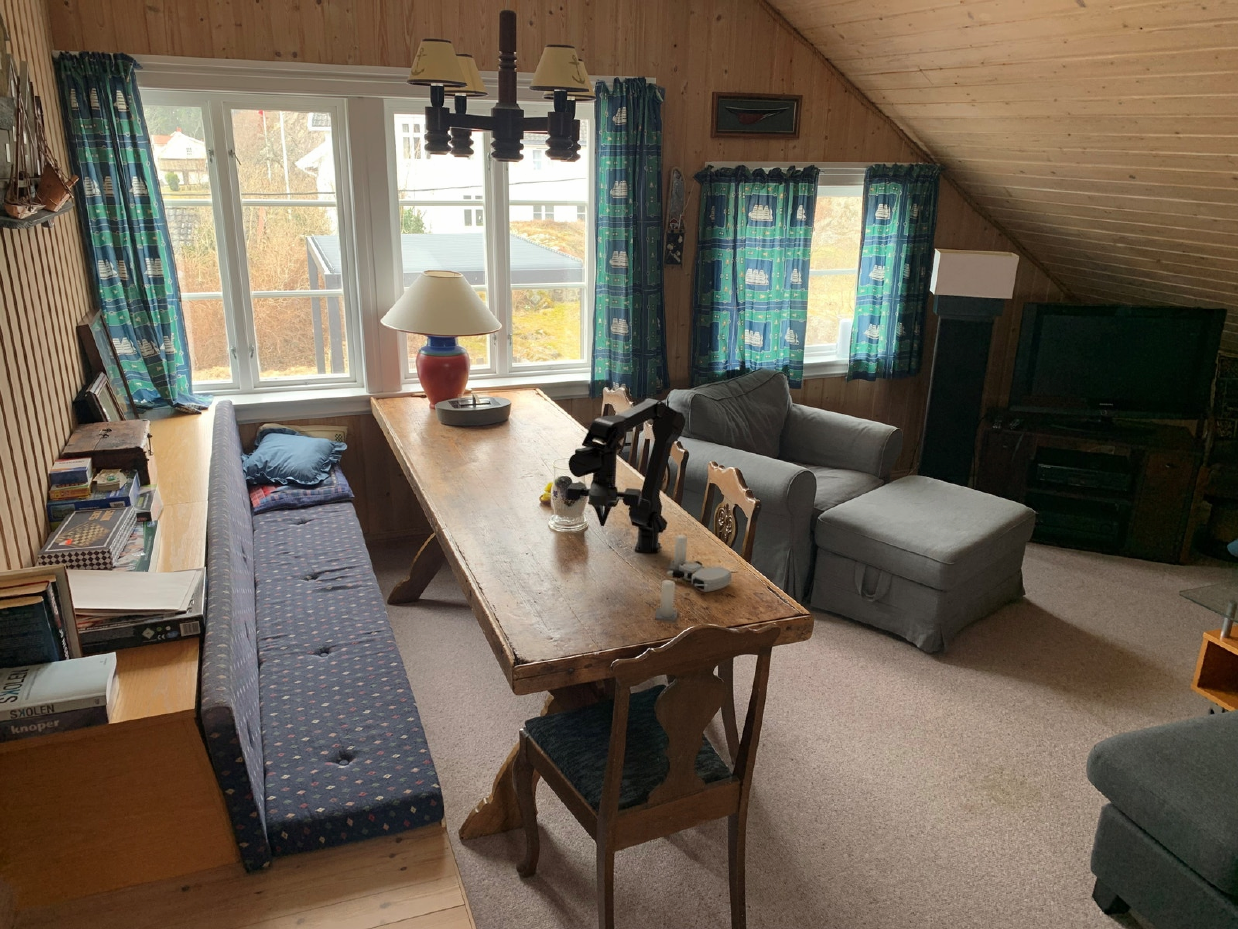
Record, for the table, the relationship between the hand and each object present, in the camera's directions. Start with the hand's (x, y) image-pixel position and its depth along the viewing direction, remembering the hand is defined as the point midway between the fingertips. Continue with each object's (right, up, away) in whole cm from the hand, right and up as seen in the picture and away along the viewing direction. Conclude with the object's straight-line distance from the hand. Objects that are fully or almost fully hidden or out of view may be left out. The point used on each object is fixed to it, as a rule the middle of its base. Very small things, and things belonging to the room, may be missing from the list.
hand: (602, 525), depth 229 cm
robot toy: (+25, -15, -2) cm, 29 cm away
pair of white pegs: (+18, -16, -7) cm, 25 cm away
